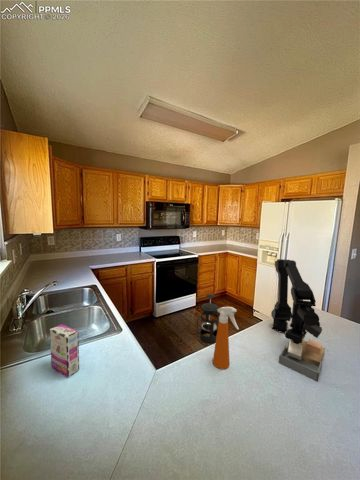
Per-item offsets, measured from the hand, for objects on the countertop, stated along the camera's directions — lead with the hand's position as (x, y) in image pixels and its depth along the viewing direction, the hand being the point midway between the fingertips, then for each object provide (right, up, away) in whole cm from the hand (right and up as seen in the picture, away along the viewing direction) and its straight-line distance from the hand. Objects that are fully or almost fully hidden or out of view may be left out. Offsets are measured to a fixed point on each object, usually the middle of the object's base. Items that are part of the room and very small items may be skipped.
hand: (296, 346), depth 90 cm
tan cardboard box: (+8, -2, +1) cm, 9 cm away
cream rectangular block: (-1, -2, -2) cm, 3 cm away
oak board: (+5, -4, +2) cm, 7 cm away
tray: (-2, -5, -6) cm, 8 cm away
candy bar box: (-99, -3, -11) cm, 99 cm away
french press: (-39, -2, +11) cm, 41 cm away
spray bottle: (-34, -4, -7) cm, 36 cm away
